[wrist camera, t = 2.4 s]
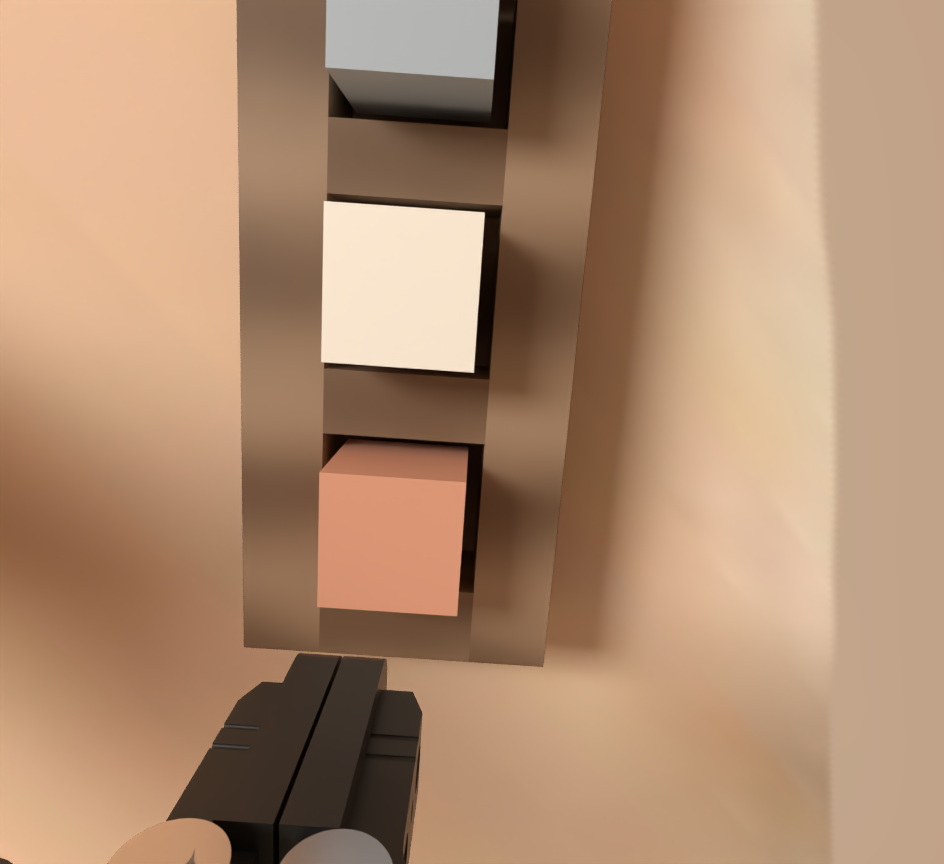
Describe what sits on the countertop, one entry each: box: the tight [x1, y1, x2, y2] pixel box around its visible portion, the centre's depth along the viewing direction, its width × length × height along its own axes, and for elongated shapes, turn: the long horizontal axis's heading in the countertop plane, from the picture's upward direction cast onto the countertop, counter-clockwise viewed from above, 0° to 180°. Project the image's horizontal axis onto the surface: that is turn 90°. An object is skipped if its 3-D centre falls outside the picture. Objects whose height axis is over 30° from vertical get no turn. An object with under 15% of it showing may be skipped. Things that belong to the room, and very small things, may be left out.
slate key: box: [325, 0, 499, 123], centre depth 17 cm, size 4×4×4 cm
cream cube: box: [321, 201, 485, 373], centre depth 18 cm, size 4×4×4 cm
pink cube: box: [317, 439, 468, 616], centre depth 20 cm, size 4×4×4 cm
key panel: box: [237, 0, 612, 667], centre depth 21 cm, size 24×10×4 cm, turn 176°
